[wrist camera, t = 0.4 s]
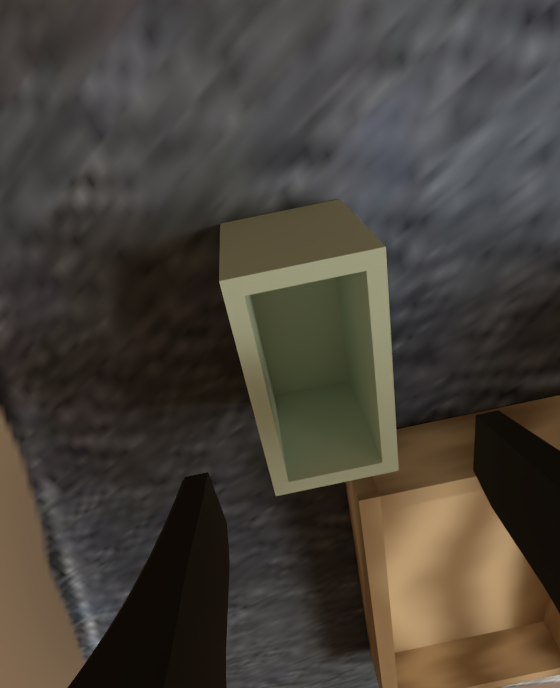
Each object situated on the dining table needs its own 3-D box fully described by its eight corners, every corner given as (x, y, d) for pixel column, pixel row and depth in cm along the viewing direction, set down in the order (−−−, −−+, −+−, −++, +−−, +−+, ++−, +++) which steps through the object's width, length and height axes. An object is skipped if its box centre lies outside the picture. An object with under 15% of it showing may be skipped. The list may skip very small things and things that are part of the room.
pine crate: (597, 387, 24) (658, 438, 21) (546, 612, 36) (580, 669, 32) (339, 441, 24) (358, 501, 21) (369, 650, 36) (385, 711, 32)
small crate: (339, 198, 18) (385, 246, 13) (358, 381, 23) (398, 470, 18) (220, 222, 18) (218, 281, 13) (263, 401, 23) (275, 496, 18)
